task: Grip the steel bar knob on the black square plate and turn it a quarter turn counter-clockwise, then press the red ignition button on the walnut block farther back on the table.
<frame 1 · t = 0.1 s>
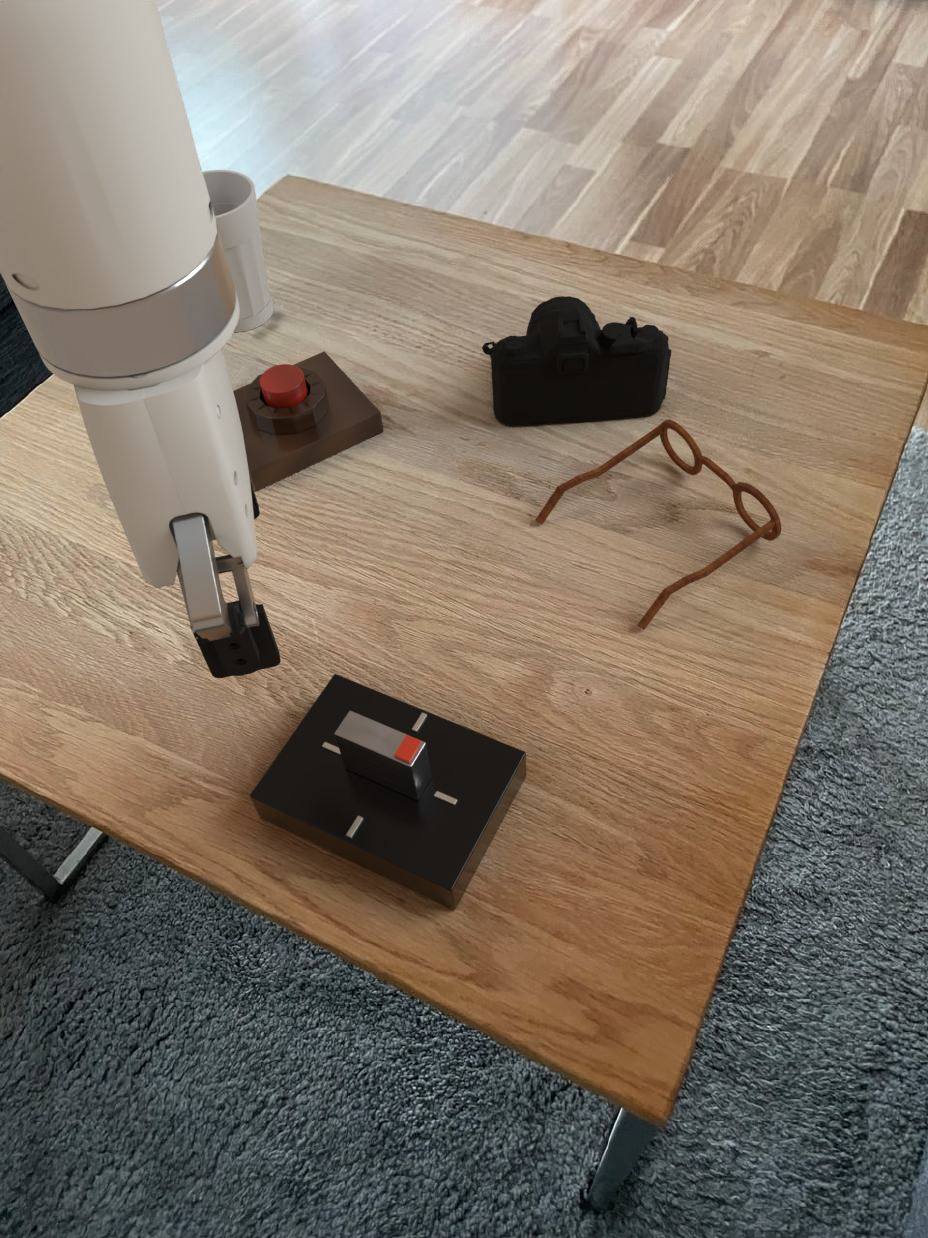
hand: (238, 589, 51), 19 cm above the table, tool pointing down, fingers open, 9 cm apart
film camera: (572, 391, 88), on the table
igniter: (294, 428, 87), on the table
glasses: (652, 538, 77), on the table
cup: (241, 313, 98), on the table
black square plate: (393, 796, 65), on the table
hob knob: (383, 755, 61), point 5 cm above the table, hinge at 0.0°
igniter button: (283, 386, 83), point 4 cm above the table, slide at 0.1 cm
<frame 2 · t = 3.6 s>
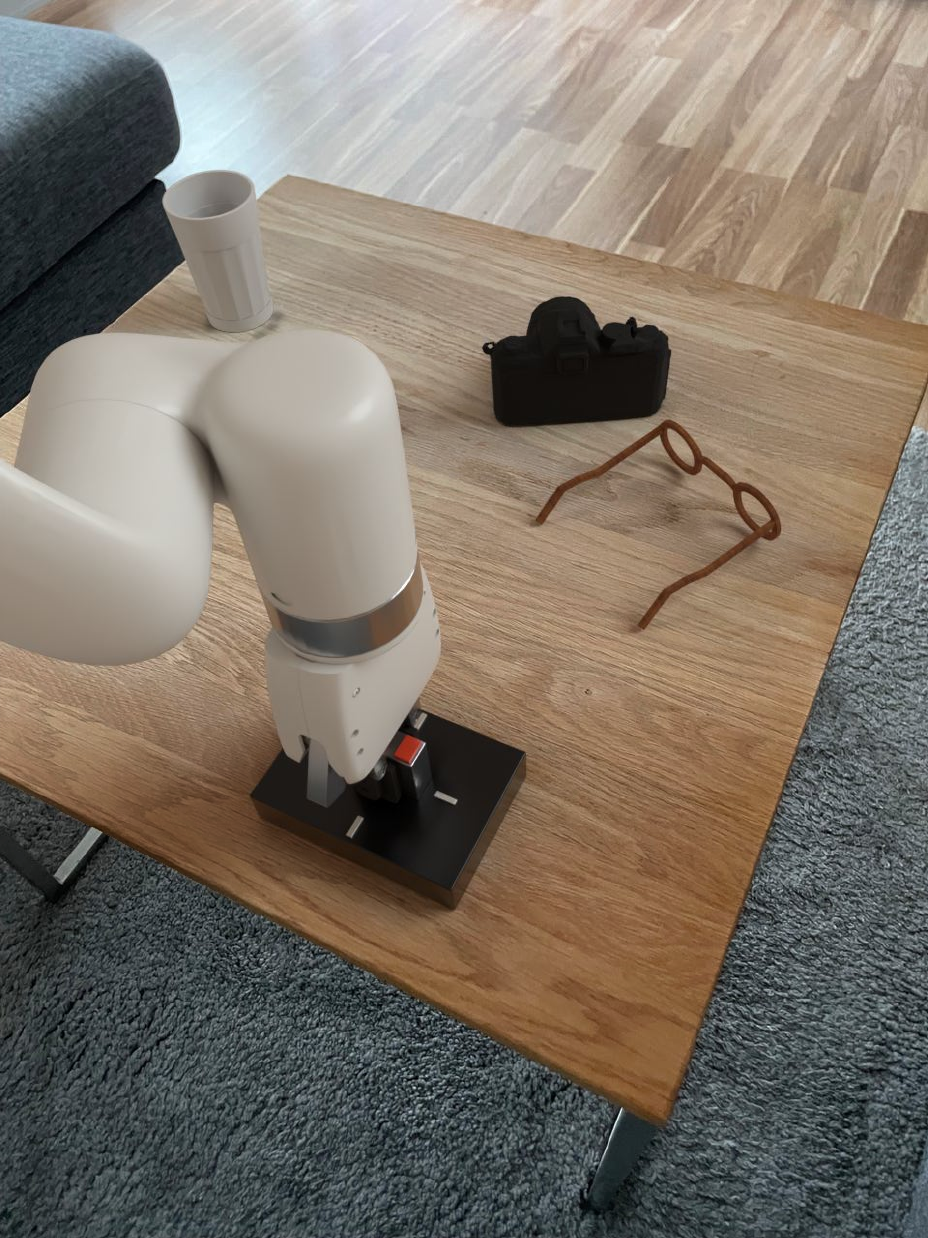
hand: (388, 772, 62), 3 cm above the table, tool pointing down, fingers closed on hob knob, 2 cm apart
hob knob: (383, 755, 61), point 5 cm above the table, hinge at -0.1°, touching gripper
everything else where it was.
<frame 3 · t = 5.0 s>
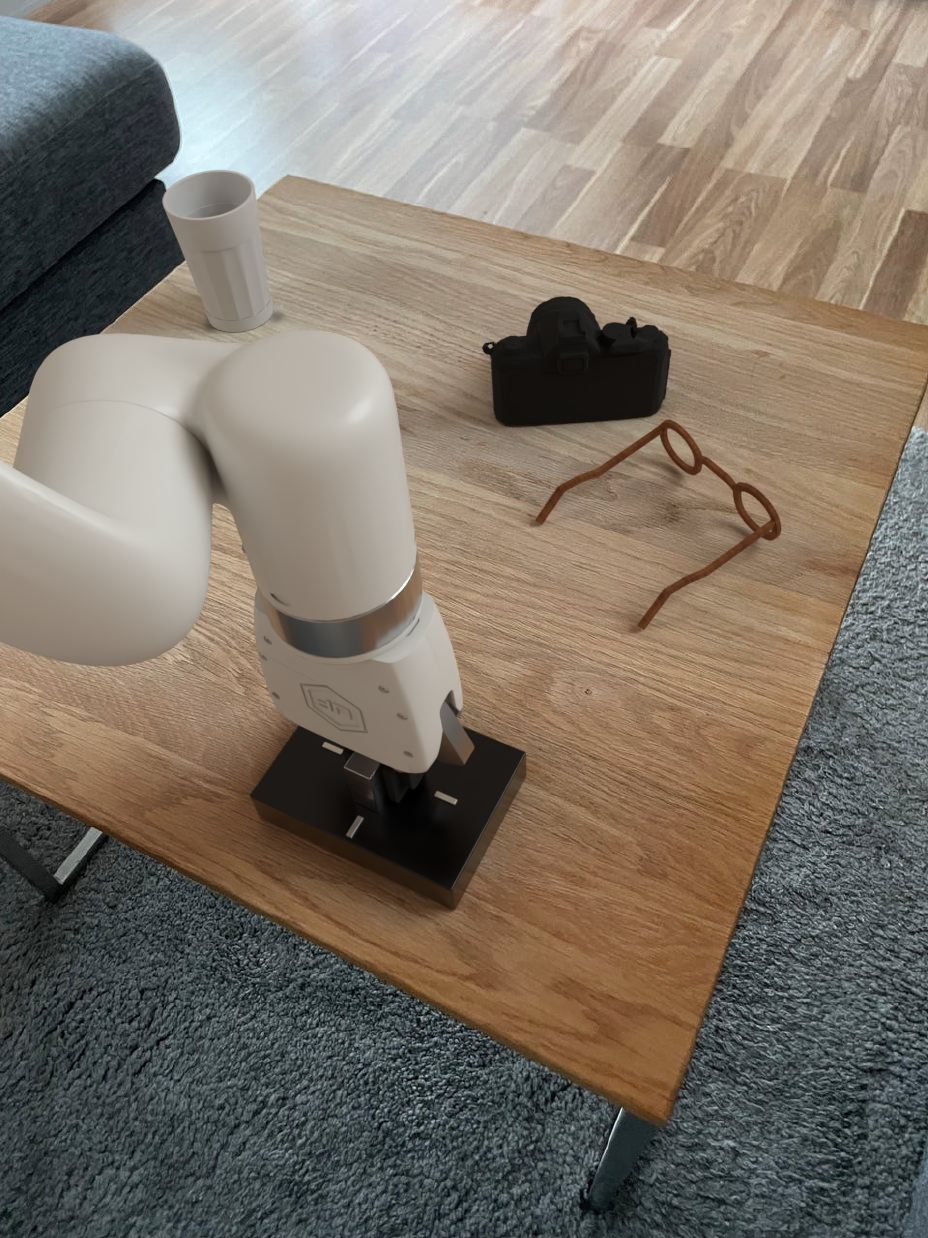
hand: (388, 772, 62), 3 cm above the table, tool pointing down, fingers closed, pressing on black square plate, hob knob
hob knob: (383, 755, 61), point 5 cm above the table, hinge at 89.2°, touching gripper
everything else where it was.
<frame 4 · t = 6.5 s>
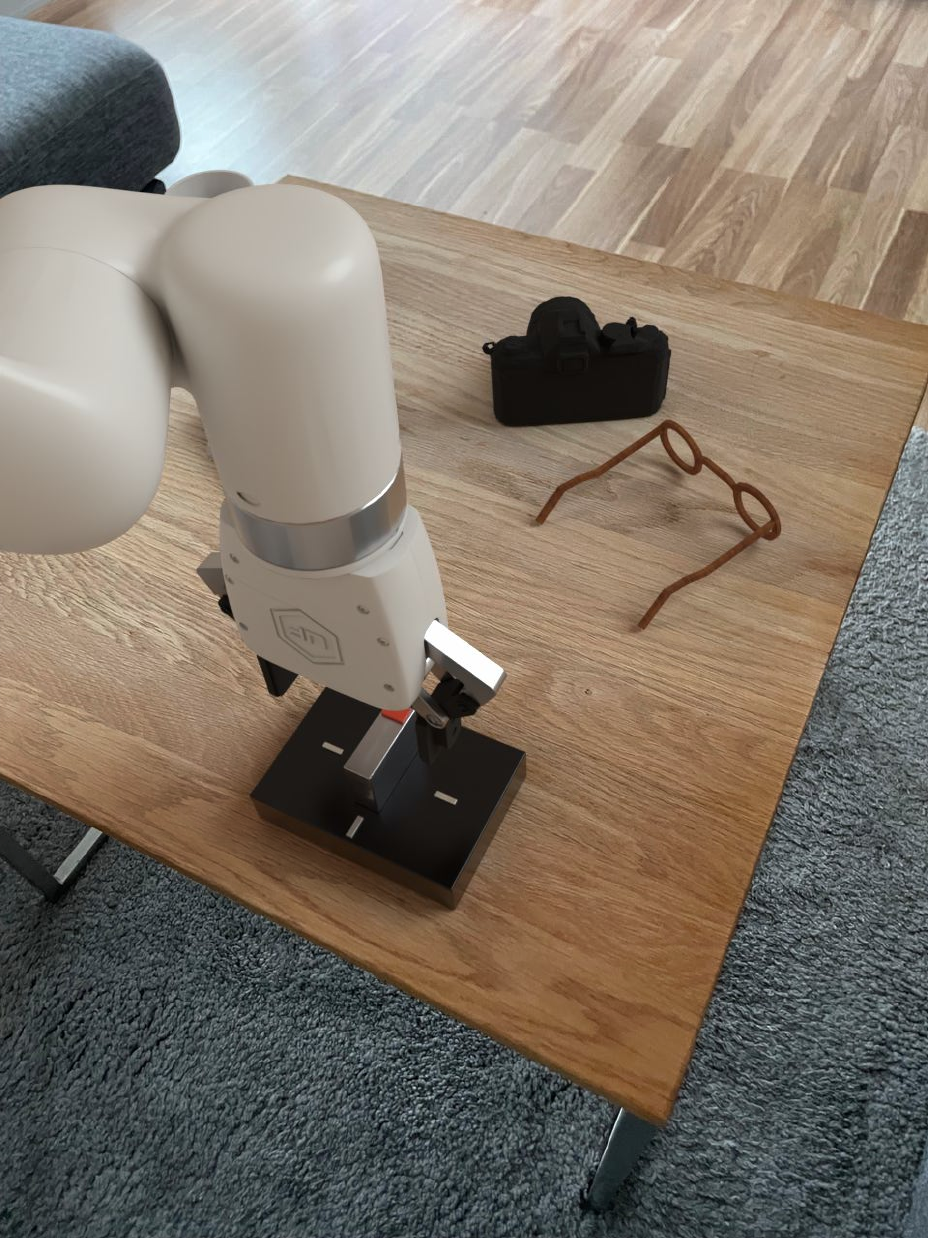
hand: (362, 708, 57), 10 cm above the table, tool pointing down, fingers open, 9 cm apart
hob knob: (383, 755, 61), point 5 cm above the table, hinge at 89.1°
everything else where it was.
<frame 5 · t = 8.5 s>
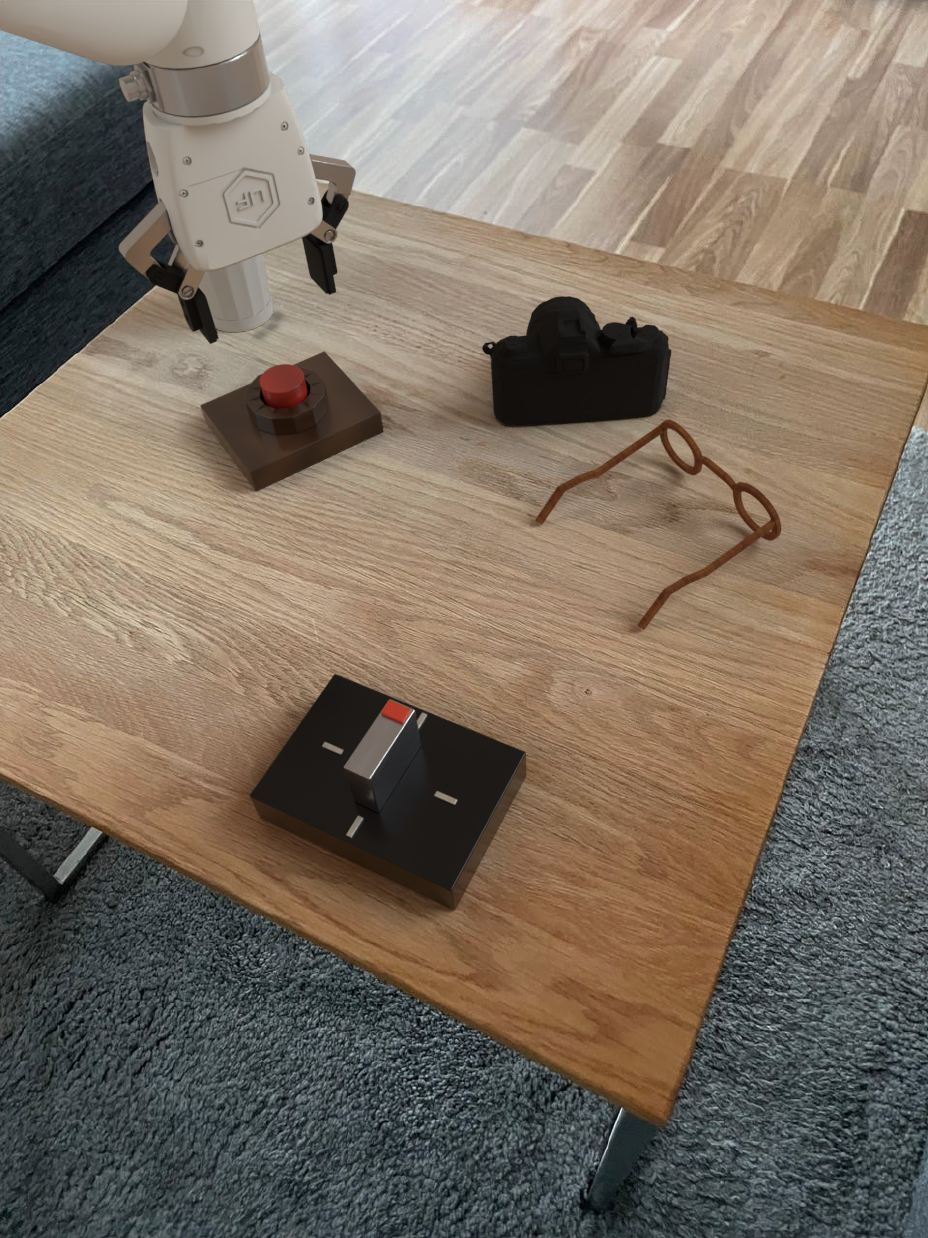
hand: (266, 308, 76), 13 cm above the table, tool pointing down, fingers open, 9 cm apart
nothing on the table moved.
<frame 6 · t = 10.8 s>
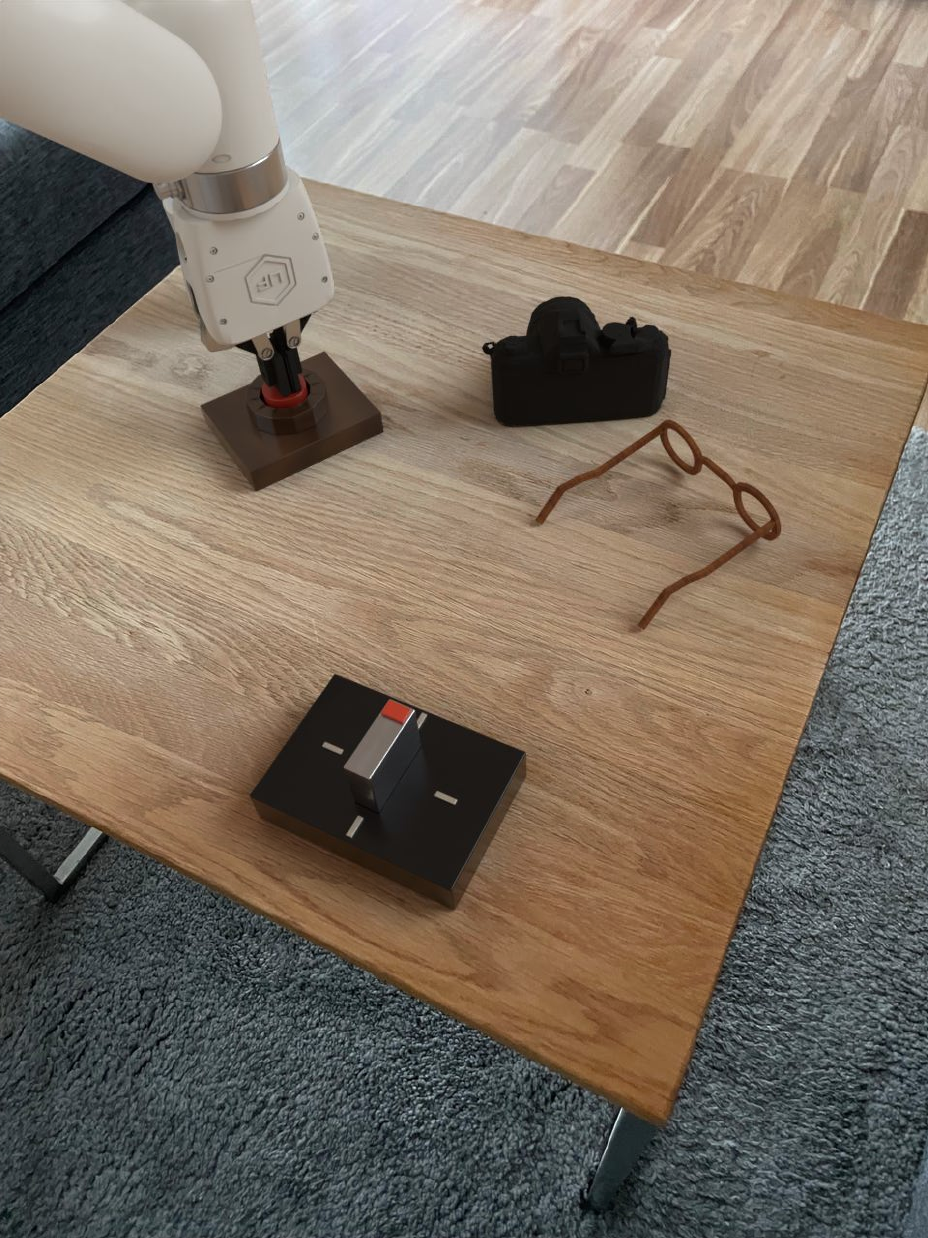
hand: (284, 384, 83), 5 cm above the table, tool pointing down, fingers closed
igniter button: (285, 394, 84), point 4 cm above the table, slide at -0.7 cm, touching gripper
everything else where it was.
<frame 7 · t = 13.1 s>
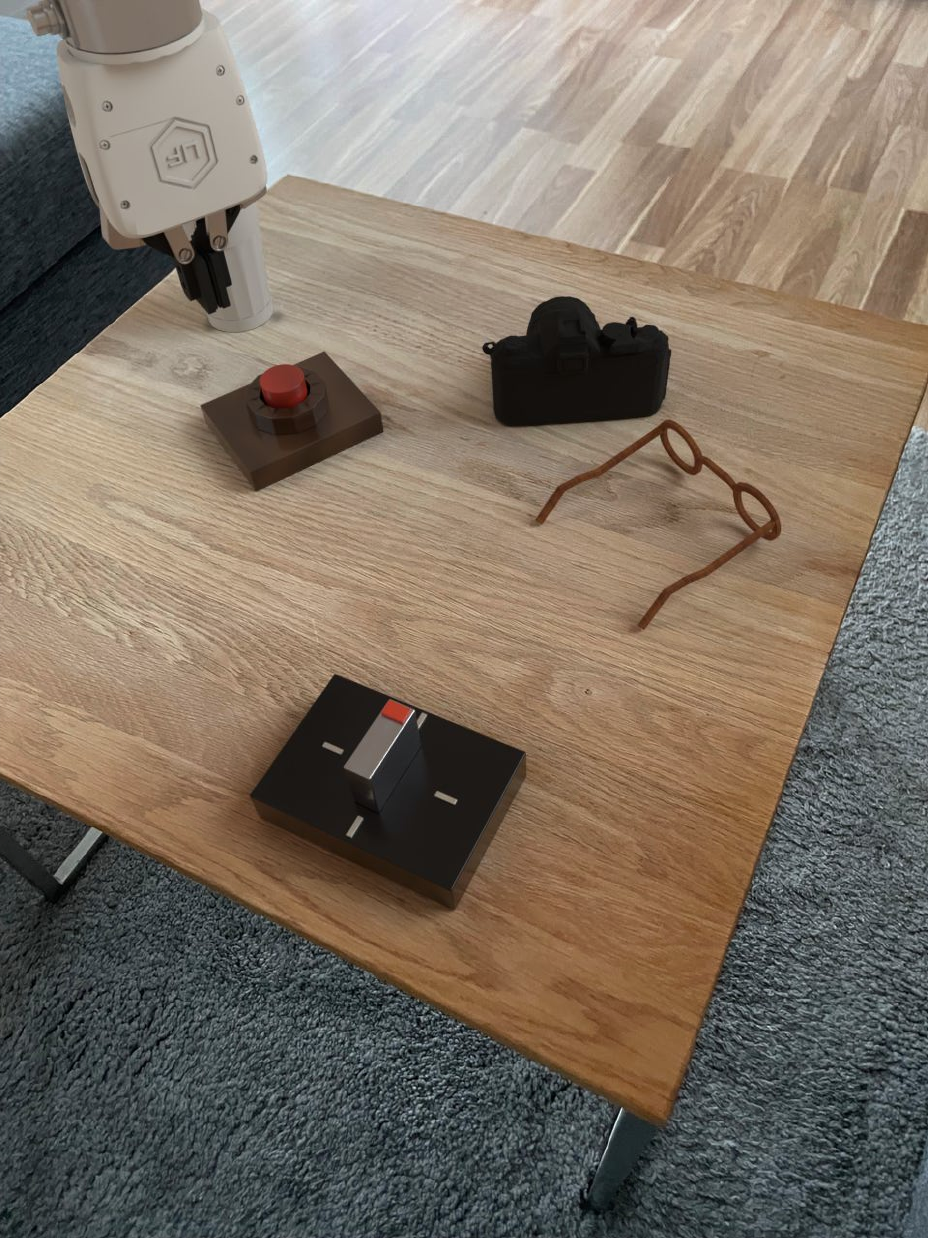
hand: (211, 300, 69), 17 cm above the table, tool pointing down, fingers closed
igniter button: (283, 386, 83), point 4 cm above the table, slide at 0.1 cm
everything else where it was.
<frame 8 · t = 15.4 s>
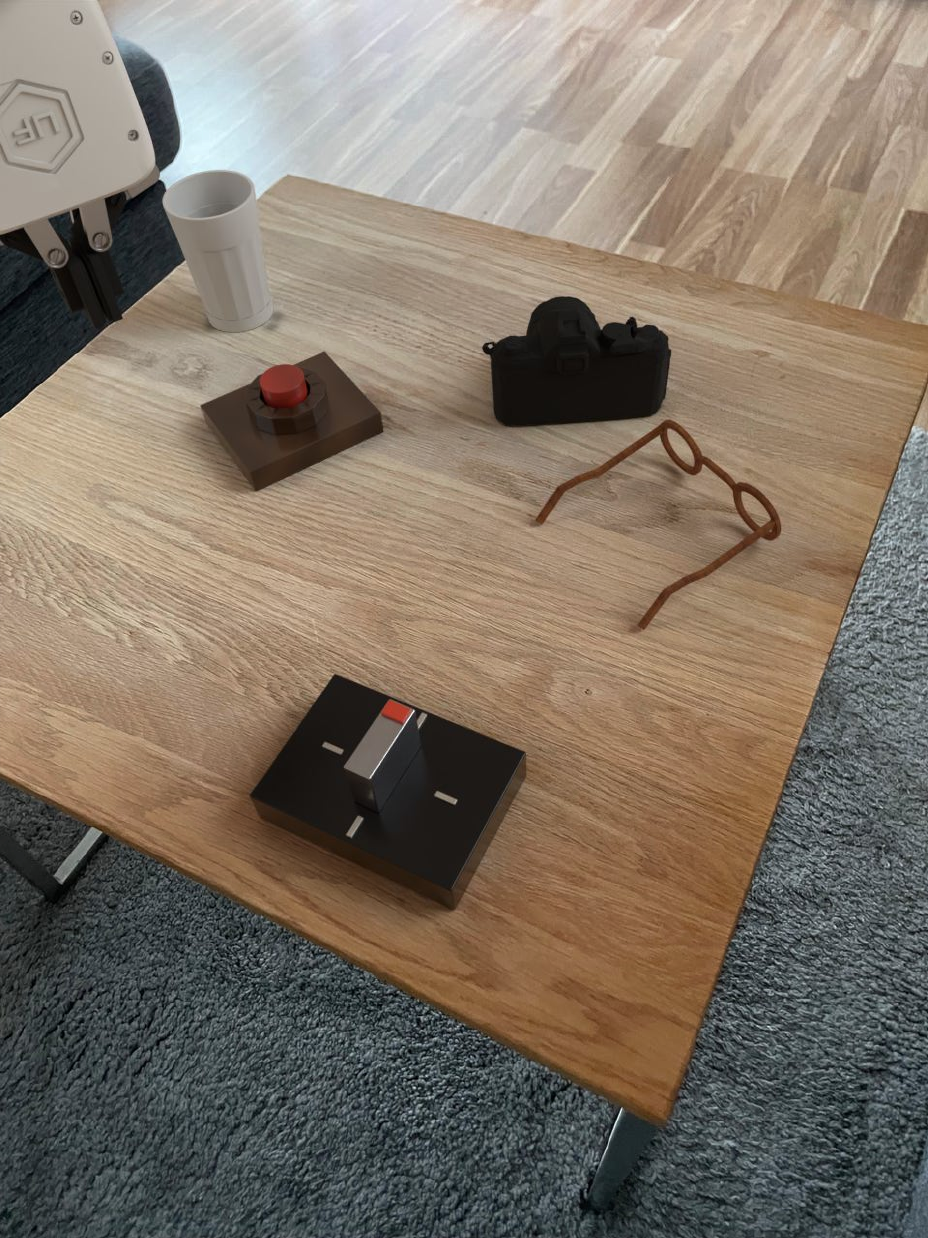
hand: (100, 311, 56), 25 cm above the table, tool pointing down, fingers closed
nothing on the table moved.
at the end: hob knob at +89° (first picture: +0°); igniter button pushed in 1.1 cm at the most during the clip, back to where it started at the end; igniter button slide at 0.1 cm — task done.
